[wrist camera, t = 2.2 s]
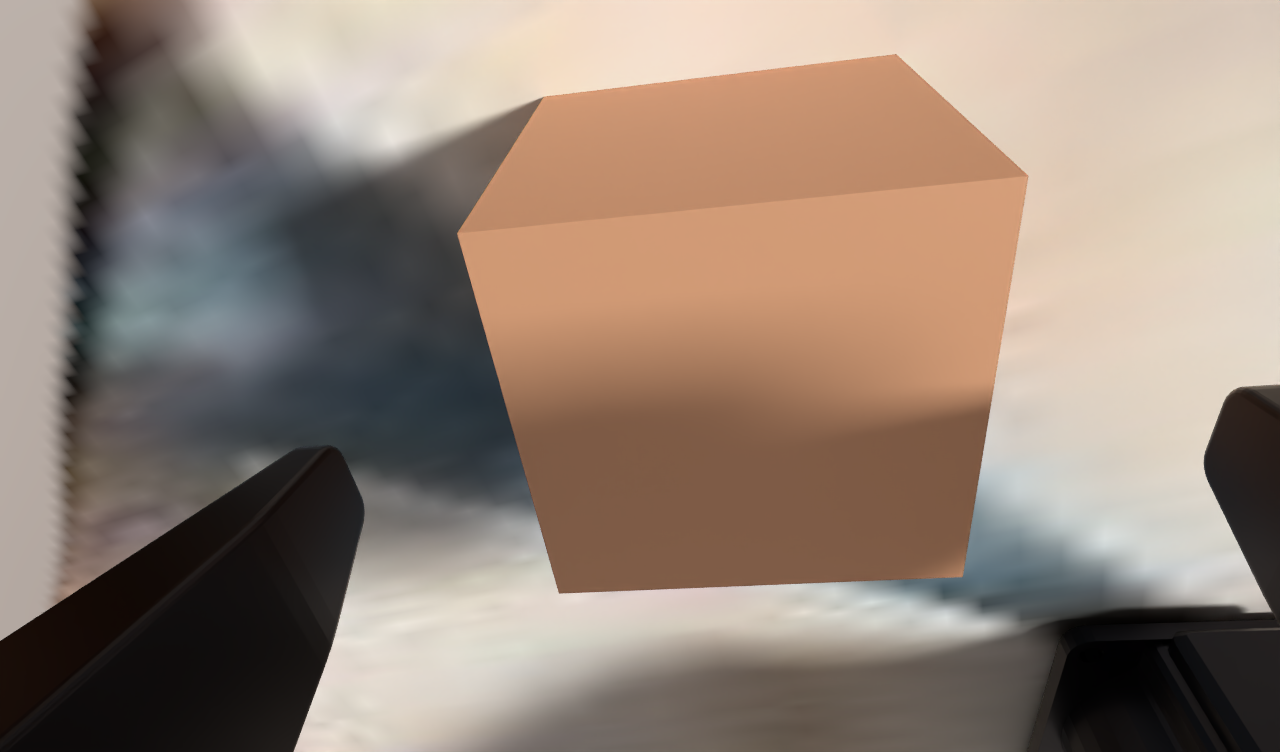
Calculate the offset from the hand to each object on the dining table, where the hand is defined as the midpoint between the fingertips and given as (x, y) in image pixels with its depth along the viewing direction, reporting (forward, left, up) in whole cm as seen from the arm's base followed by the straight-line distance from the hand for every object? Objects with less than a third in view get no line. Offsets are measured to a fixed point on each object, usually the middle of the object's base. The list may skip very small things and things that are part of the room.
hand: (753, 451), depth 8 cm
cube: (0, 0, -5) cm, 5 cm away
